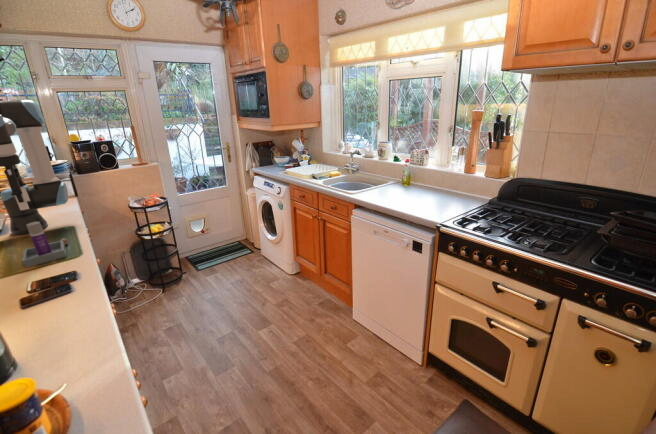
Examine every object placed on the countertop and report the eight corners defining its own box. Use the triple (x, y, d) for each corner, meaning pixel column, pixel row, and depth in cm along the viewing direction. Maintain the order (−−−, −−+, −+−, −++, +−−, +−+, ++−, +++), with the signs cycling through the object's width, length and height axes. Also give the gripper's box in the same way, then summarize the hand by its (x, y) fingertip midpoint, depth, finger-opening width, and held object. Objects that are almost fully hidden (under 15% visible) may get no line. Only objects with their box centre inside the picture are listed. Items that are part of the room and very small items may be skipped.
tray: (26, 255, 148) (23, 249, 147) (65, 246, 156) (62, 240, 154) (24, 267, 137) (21, 261, 136) (66, 256, 145) (63, 250, 144)
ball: (60, 244, 157) (58, 238, 156) (69, 242, 159) (66, 236, 158) (60, 246, 155) (58, 240, 154) (69, 244, 157) (67, 238, 156)
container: (44, 257, 144) (31, 225, 138) (36, 257, 145) (22, 225, 139) (55, 252, 148) (42, 221, 142) (46, 252, 149) (34, 221, 143)
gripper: (-5, 152, 138) (15, 200, 147) (-12, 161, 120) (11, 215, 128) (18, 149, 143) (37, 196, 151) (15, 158, 125) (36, 210, 133)
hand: (25, 205), depth 140 cm, fingers open, 13 cm apart
